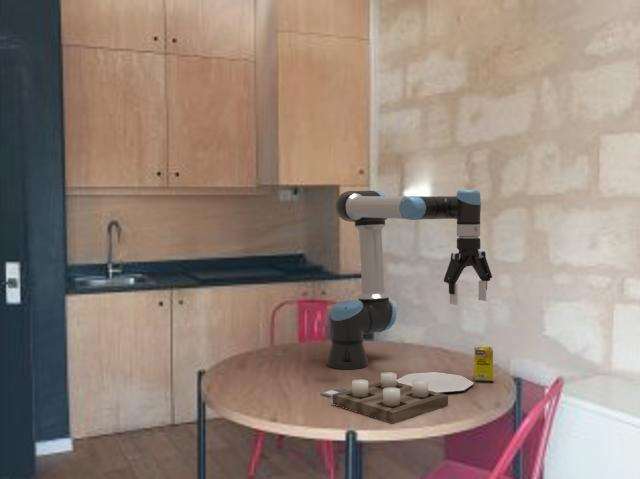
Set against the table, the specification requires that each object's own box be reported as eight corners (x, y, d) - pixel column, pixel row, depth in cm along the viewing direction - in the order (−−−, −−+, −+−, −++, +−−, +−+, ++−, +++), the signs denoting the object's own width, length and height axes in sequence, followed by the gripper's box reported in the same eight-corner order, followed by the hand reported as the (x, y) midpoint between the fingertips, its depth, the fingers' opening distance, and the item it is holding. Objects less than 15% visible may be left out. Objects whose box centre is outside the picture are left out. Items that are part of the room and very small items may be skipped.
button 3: (379, 403, 190) (379, 389, 189) (391, 400, 193) (390, 386, 193) (392, 407, 186) (392, 393, 186) (403, 403, 189) (403, 389, 189)
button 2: (377, 386, 207) (377, 374, 207) (388, 384, 210) (388, 371, 210) (389, 389, 204) (389, 376, 203) (399, 386, 207) (399, 374, 207)
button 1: (348, 394, 199) (348, 381, 199) (360, 391, 202) (360, 378, 202) (360, 398, 195) (360, 384, 195) (371, 394, 199) (371, 381, 198)
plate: (455, 400, 204) (456, 395, 204) (386, 389, 216) (386, 385, 216) (481, 382, 224) (481, 378, 224) (416, 373, 236) (416, 369, 236)
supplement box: (493, 383, 221) (493, 350, 221) (474, 382, 222) (474, 349, 222) (492, 378, 227) (492, 346, 226) (474, 377, 228) (474, 346, 228)
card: (320, 394, 210) (320, 392, 210) (341, 389, 216) (341, 386, 216) (340, 400, 203) (340, 398, 203) (361, 394, 209) (361, 392, 209)
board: (332, 404, 199) (332, 394, 199) (387, 389, 215) (387, 380, 215) (393, 423, 181) (393, 412, 181) (448, 405, 197) (448, 395, 197)
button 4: (408, 395, 198) (408, 381, 198) (419, 391, 201) (419, 378, 201) (421, 398, 194) (421, 384, 194) (431, 395, 198) (431, 381, 197)
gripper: (449, 239, 208) (449, 307, 209) (503, 236, 222) (502, 300, 223) (432, 238, 214) (432, 304, 215) (485, 235, 228) (485, 297, 229)
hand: (468, 302), depth 219 cm, fingers open, 13 cm apart
